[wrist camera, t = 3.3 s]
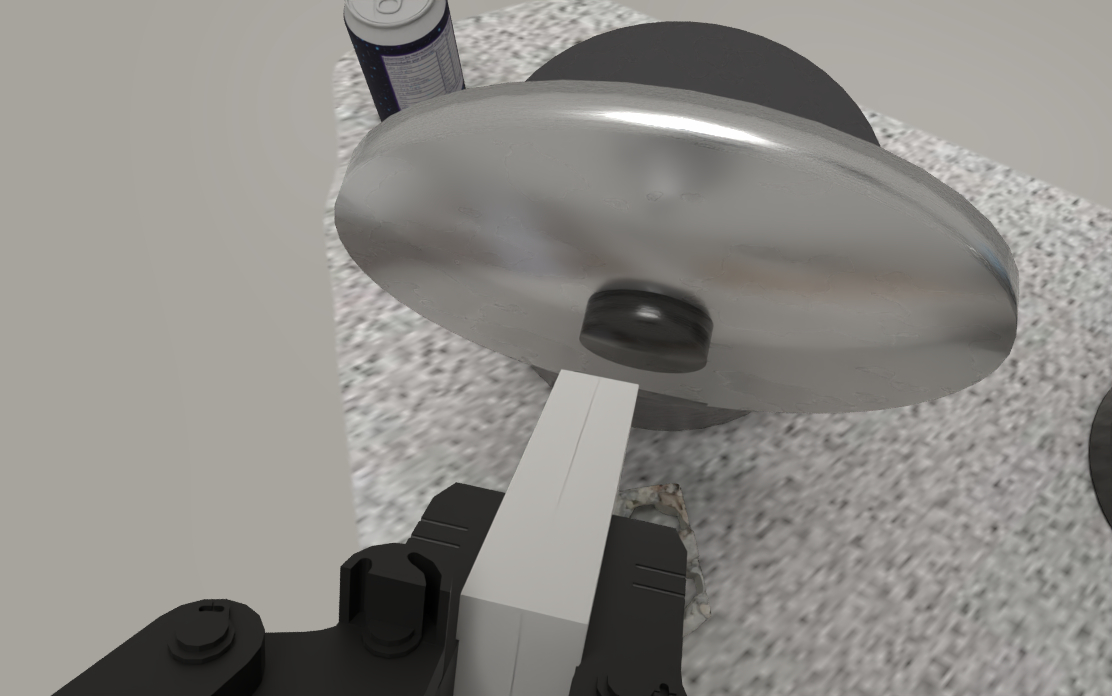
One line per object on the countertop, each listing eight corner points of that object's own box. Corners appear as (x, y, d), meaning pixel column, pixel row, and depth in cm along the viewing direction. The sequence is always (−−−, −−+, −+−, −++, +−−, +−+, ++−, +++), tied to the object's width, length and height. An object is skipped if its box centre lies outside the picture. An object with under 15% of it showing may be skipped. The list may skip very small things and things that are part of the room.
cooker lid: (1229, 178, 15) (1231, 298, 14) (872, 417, 34) (866, 472, 33) (226, 13, 17) (185, 109, 16) (425, 324, 36) (411, 374, 36)
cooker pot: (895, 174, 51) (964, 62, 41) (866, 477, 43) (942, 424, 34) (500, 106, 54) (482, -12, 44) (412, 378, 46) (368, 305, 37)
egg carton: (679, 493, 44) (688, 475, 40) (708, 637, 41) (721, 633, 37) (486, 521, 43) (477, 506, 40) (502, 669, 41) (494, 668, 37)
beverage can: (477, 99, 54) (449, -50, 43) (469, 169, 52) (437, 31, 41) (394, 97, 54) (345, -51, 43) (383, 167, 52) (328, 29, 41)
